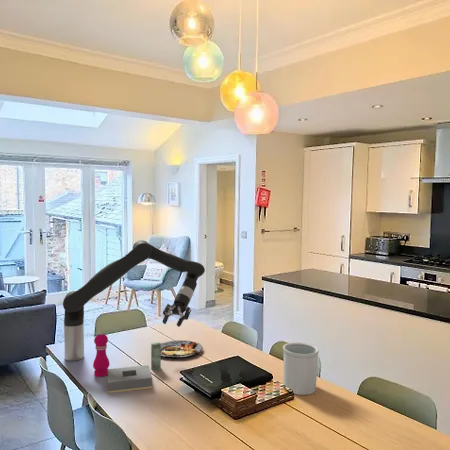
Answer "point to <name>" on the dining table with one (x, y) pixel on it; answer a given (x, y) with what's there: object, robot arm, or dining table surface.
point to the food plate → (180, 348)
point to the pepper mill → (101, 356)
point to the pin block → (129, 378)
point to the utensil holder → (300, 367)
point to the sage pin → (155, 356)
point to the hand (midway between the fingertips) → (170, 324)
